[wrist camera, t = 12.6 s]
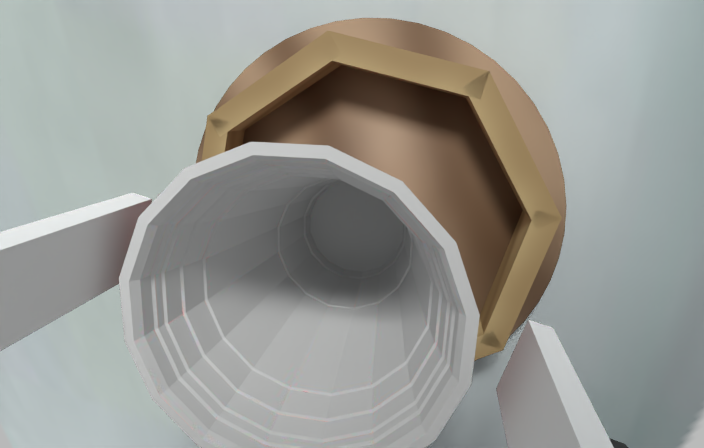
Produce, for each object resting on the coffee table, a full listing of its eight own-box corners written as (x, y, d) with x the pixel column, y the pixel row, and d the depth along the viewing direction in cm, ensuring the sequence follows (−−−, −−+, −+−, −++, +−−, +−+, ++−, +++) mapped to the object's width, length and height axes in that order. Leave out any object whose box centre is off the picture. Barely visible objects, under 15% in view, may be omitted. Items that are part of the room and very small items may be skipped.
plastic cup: (501, 208, 21) (581, 325, 9) (378, 342, 24) (329, 544, 13) (335, 81, 21) (216, 48, 9) (236, 235, 24) (63, 345, 13)
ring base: (446, -72, 19) (448, -104, 16) (625, 298, 22) (653, 326, 19) (140, 150, 25) (103, 155, 22) (311, 412, 28) (298, 447, 25)
